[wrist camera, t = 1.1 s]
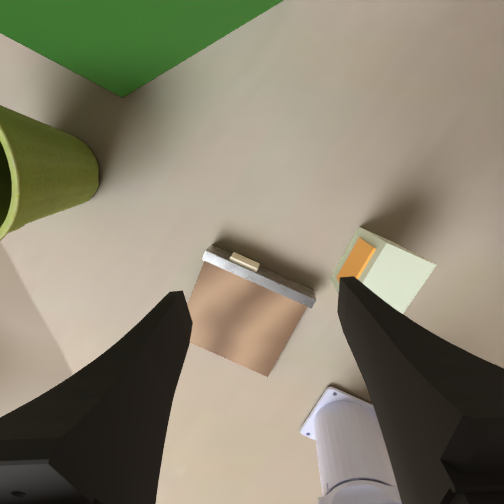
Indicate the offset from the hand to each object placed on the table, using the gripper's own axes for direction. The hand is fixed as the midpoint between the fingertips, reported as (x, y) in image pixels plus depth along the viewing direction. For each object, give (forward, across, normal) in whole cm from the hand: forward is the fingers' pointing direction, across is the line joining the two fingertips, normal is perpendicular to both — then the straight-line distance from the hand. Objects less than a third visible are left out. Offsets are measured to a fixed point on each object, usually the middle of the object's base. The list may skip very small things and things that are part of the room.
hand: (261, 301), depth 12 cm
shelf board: (+13, +3, +12) cm, 18 cm away
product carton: (+13, -10, +7) cm, 18 cm away
